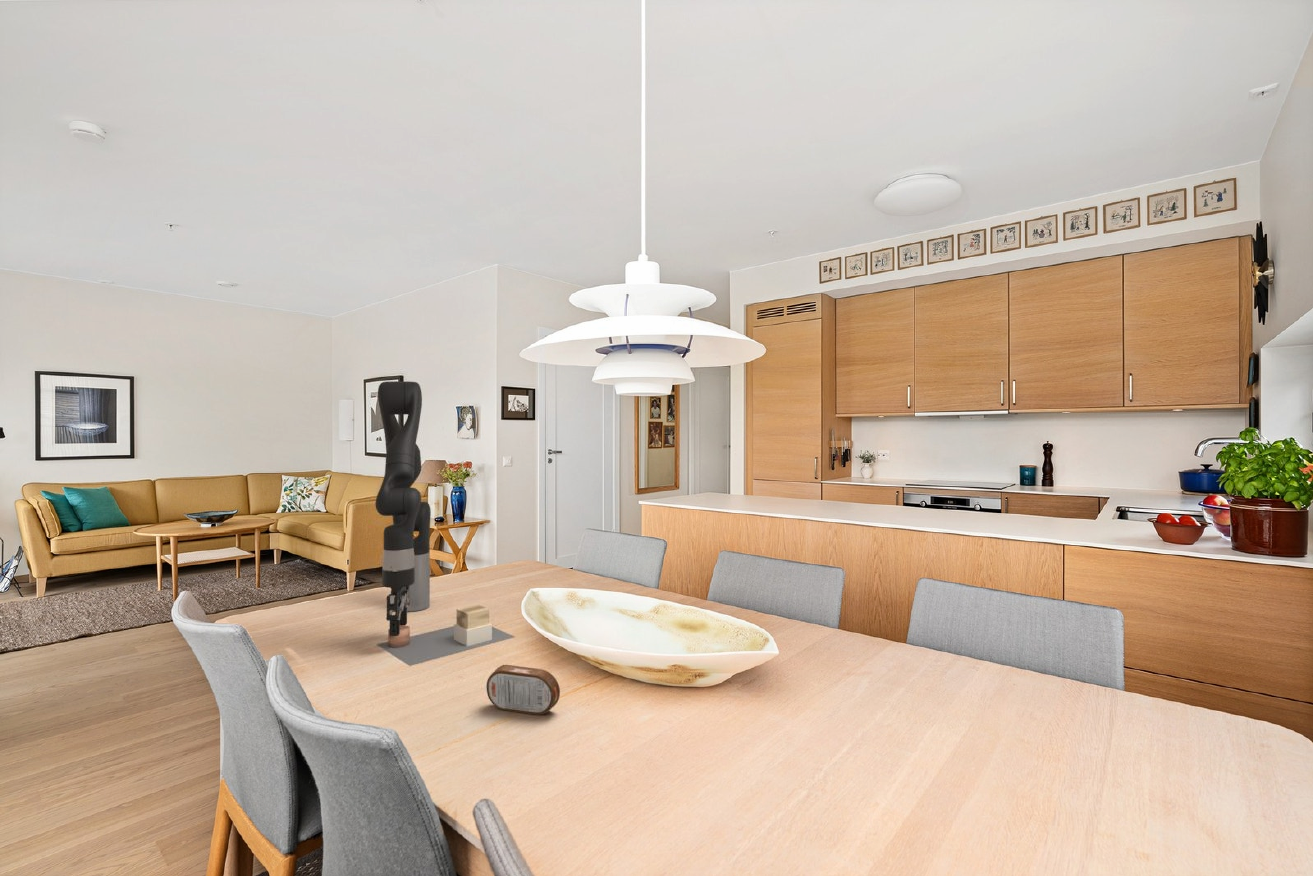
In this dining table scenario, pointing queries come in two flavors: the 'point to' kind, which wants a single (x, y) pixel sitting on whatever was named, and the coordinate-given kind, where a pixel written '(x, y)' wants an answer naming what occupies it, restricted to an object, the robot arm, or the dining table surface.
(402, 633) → the terracotta cylinder
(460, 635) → the tower base block
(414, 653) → the mat
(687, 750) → the dining table surface
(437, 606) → the dining table surface
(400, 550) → the robot arm
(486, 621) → the tower top block
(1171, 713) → the dining table surface
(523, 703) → the tin
